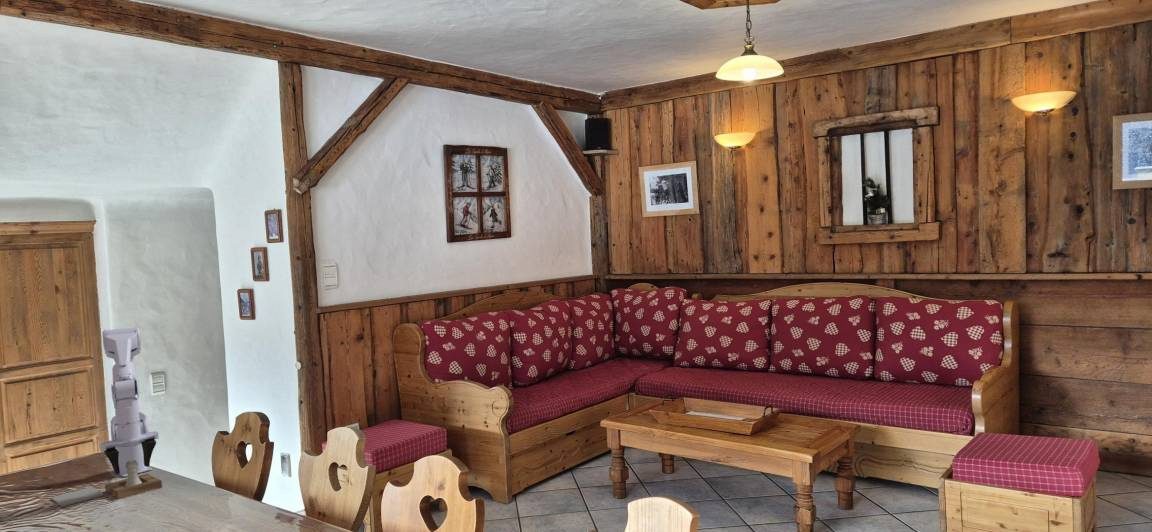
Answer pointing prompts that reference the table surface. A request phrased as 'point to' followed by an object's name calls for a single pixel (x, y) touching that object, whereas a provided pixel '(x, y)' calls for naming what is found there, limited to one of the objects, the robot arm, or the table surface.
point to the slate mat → (77, 496)
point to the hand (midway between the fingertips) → (132, 469)
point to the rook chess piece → (132, 474)
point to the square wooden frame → (121, 491)
